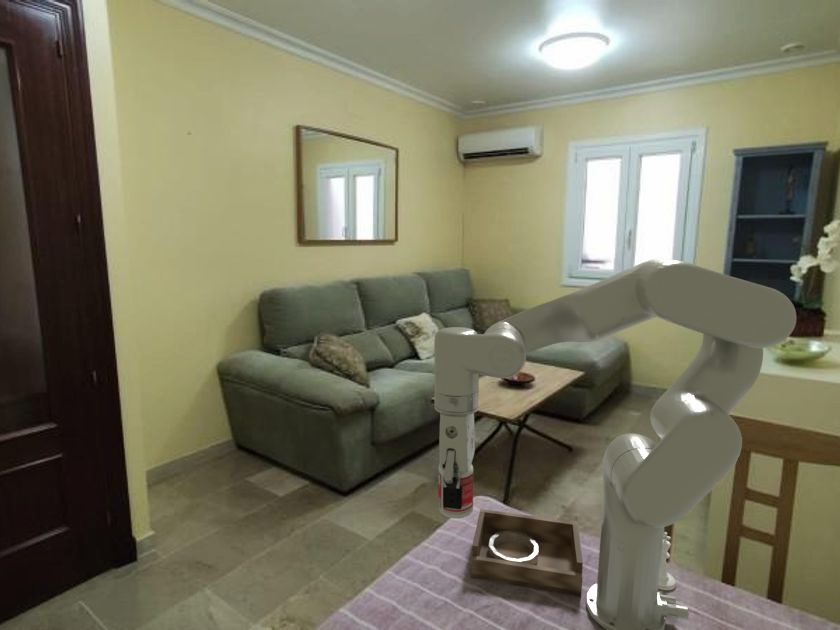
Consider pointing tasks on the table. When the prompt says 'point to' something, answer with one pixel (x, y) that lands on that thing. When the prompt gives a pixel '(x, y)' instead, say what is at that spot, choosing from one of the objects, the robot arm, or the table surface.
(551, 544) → the walled box
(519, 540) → the collar
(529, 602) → the table surface
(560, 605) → the table surface
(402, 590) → the table surface
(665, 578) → the chess piece
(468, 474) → the pill bottle
